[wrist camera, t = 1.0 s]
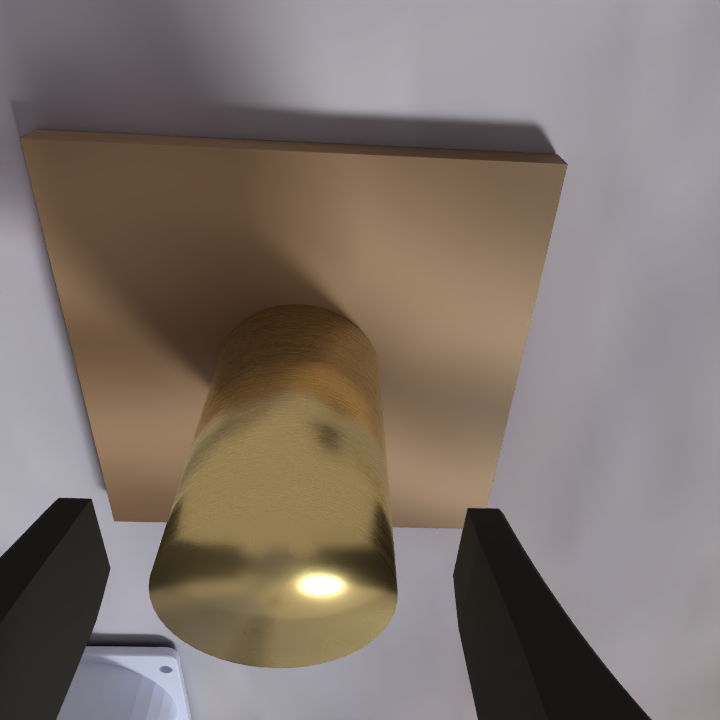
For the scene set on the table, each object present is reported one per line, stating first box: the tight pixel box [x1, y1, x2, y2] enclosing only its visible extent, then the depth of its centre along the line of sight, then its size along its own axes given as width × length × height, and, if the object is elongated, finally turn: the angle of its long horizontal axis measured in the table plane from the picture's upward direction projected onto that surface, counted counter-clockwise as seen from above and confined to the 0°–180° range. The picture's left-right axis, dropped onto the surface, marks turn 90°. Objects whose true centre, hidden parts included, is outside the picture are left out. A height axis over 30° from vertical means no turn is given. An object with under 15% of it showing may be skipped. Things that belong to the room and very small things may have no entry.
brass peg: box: [149, 304, 397, 668], centre depth 14 cm, size 4×4×7 cm
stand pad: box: [20, 130, 568, 529], centre depth 17 cm, size 12×12×1 cm
